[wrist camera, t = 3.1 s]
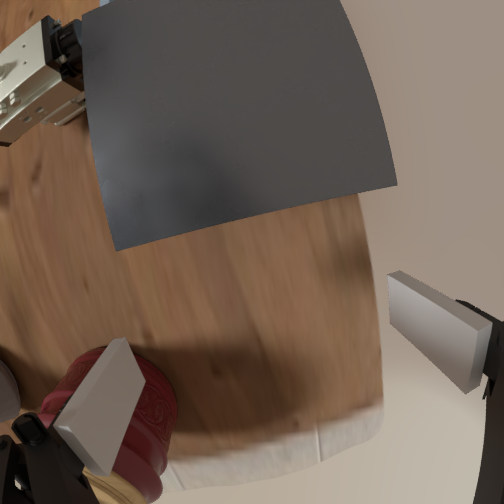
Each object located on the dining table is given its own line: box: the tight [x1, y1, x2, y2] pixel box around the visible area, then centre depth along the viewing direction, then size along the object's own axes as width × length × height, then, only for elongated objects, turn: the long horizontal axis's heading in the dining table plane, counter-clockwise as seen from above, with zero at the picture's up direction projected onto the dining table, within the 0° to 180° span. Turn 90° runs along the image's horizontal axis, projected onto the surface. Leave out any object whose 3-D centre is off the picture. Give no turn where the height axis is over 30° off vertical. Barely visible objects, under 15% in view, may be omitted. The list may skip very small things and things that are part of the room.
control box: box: [82, 0, 397, 251], centre depth 16 cm, size 11×11×15 cm
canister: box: [37, 347, 177, 504], centre depth 19 cm, size 13×13×18 cm
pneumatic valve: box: [0, 15, 87, 147], centre depth 16 cm, size 6×12×12 cm, turn 111°
